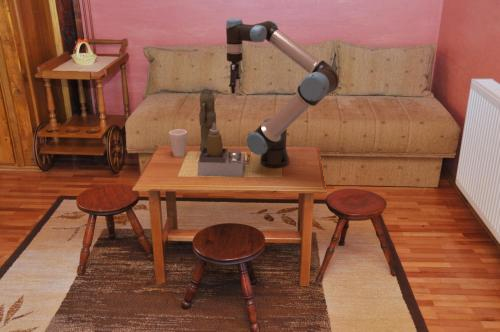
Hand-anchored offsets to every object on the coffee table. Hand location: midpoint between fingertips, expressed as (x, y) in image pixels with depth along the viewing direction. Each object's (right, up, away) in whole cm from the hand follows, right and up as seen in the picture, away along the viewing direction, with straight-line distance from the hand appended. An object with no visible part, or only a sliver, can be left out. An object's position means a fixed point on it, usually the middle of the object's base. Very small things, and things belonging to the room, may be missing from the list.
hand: (234, 95), depth 256 cm
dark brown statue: (-15, -28, +28) cm, 42 cm away
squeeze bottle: (-10, -30, +5) cm, 32 cm away
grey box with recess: (-7, -36, +9) cm, 38 cm away
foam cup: (-31, -29, +27) cm, 50 cm away
